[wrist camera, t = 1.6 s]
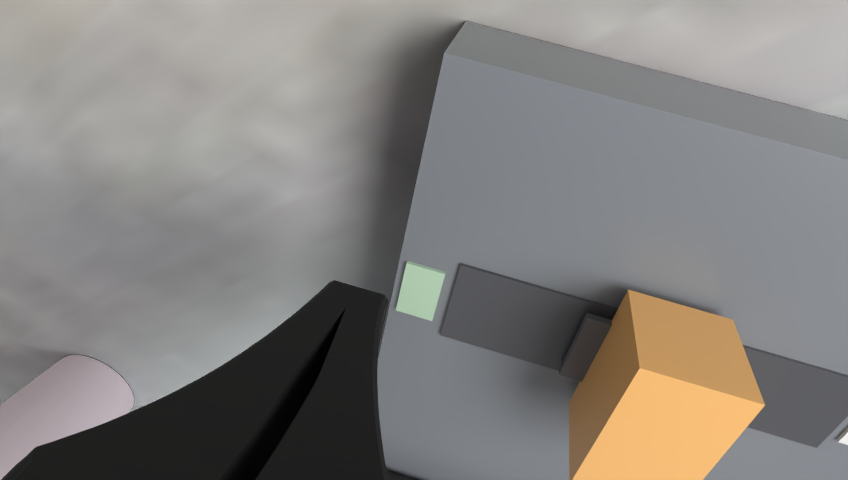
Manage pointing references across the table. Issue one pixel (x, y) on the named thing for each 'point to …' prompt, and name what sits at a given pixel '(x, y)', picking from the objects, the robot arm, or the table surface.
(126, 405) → the smoothie
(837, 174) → the panel
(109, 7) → the table surface
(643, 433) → the block
